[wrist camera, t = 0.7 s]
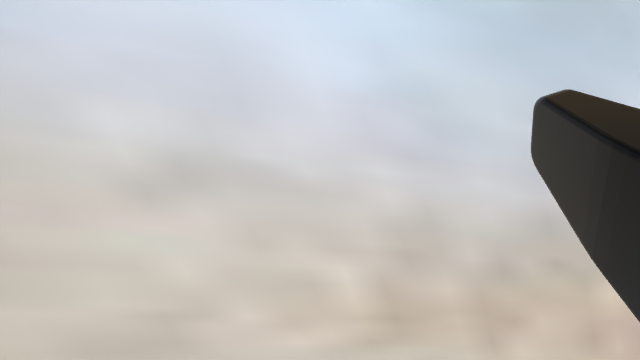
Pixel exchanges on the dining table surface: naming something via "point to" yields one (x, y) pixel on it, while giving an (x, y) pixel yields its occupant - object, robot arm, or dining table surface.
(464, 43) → the dining table surface
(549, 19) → the dining table surface
